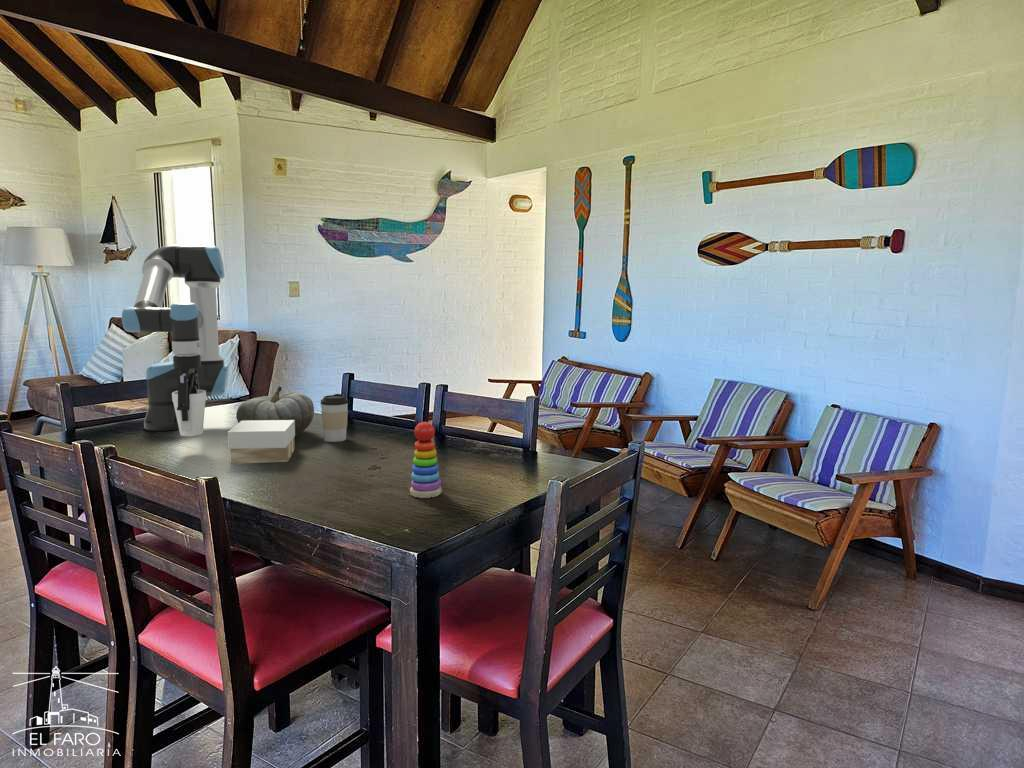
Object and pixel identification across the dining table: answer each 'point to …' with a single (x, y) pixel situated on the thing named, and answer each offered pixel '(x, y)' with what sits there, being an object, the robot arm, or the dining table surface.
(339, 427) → the coffee cup
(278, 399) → the gourd
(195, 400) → the foam cup
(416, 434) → the stacking toy
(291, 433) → the white square block
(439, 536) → the dining table surface
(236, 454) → the birch base block
